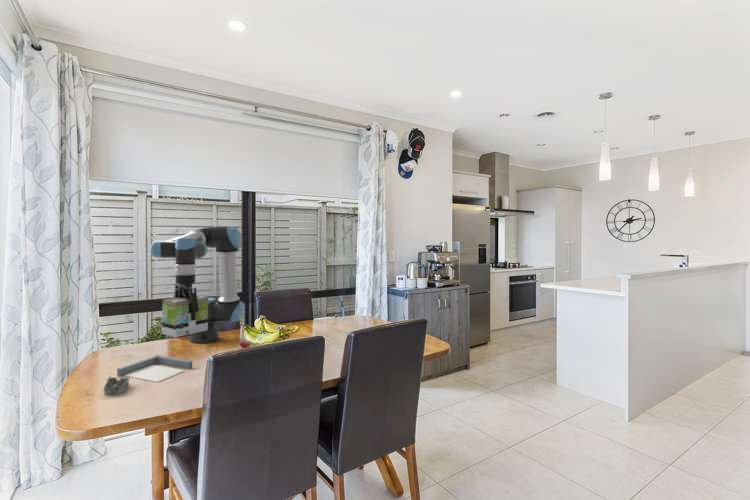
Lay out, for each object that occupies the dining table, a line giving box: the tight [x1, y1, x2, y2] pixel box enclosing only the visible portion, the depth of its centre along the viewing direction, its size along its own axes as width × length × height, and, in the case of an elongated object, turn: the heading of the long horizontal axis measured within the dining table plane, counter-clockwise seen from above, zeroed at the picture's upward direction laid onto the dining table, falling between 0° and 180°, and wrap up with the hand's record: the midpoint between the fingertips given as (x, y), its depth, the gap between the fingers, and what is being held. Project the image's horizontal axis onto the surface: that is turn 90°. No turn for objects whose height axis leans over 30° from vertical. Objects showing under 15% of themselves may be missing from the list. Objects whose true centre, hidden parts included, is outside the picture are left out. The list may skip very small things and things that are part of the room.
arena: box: [116, 354, 193, 383], centre depth 166 cm, size 20×22×3 cm
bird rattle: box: [237, 341, 251, 349], centre depth 177 cm, size 6×11×9 cm
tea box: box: [161, 295, 209, 338], centre depth 161 cm, size 15×10×15 cm, turn 150°
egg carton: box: [103, 376, 131, 397], centre depth 147 cm, size 11×8×4 cm
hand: (185, 325), depth 161 cm, fingers closed on tea box, 10 cm apart
